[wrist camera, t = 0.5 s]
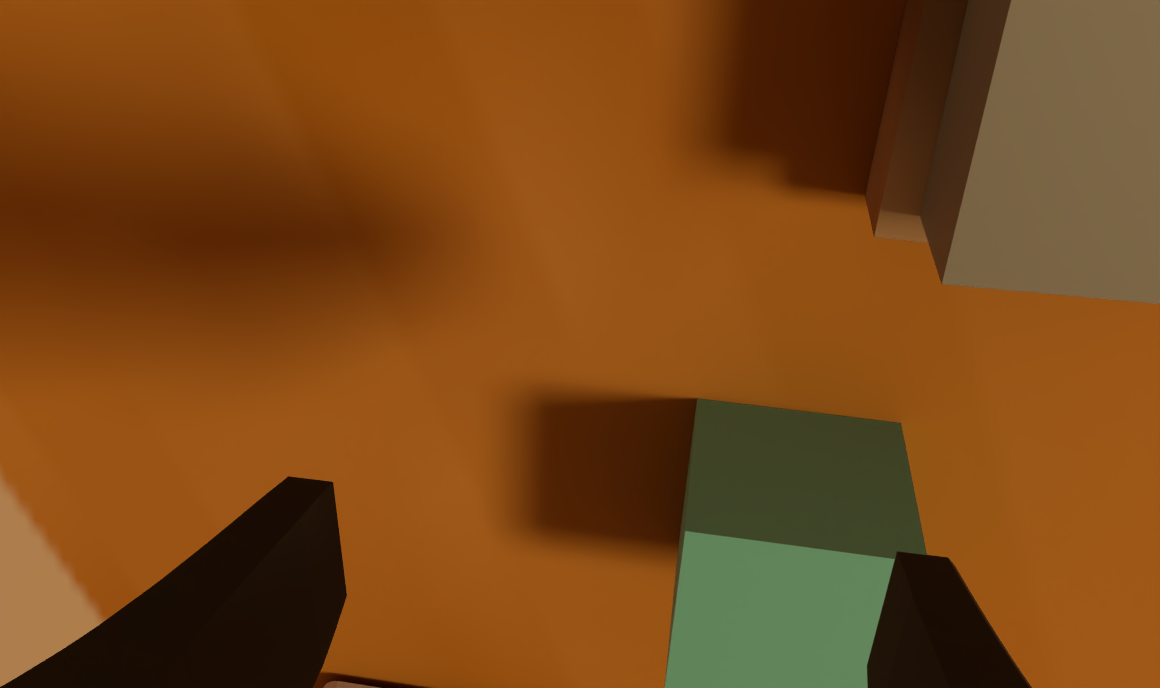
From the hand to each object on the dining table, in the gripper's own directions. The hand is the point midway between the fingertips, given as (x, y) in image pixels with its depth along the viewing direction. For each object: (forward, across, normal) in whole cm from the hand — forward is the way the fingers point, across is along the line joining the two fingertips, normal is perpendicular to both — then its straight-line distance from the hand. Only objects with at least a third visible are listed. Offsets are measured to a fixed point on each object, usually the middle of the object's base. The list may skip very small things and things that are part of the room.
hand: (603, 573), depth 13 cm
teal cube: (+10, -3, +6) cm, 12 cm away
